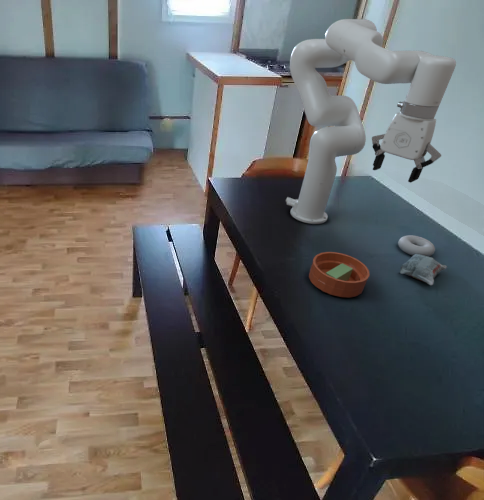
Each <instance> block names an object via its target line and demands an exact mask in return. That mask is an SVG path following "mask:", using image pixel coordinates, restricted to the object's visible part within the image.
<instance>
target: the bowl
mask: <svg viewBox="0 0 484 500" xmlns="http://www.w3.org/2000/svg"><path fill="white" fill-rule="evenodd" d="M342 263H343V264H345V265H347V266H349V267H351V268H352V269H353V270H352V273H351V275H350V278H349V279H348V280H347V281H343V280H339V279H336V278H333V277H331V276H328V275H327V274H326V272H328V271H330V270H332V269H333V268H335V267H337V266H339V265H340V264H342ZM370 277H371V274H370V269H369V268H368V267H367V265H366V264H364V263H363V262H362V261H361V260H359V259H358V258H356V257H353V256H351V255H349V254H346V253H341V252H336V251H325V252H320V253H318V254H316V255H314V257H313V259H312V261H311V265H310V268H309V271H308V279H309V281H310V282H311V284H312V285H314V286H315V287H316V288H317V289H318V290H320V291H321V292H323V293H325V294H328V295H331V296H334V297H339V298H354V297H357V296H359V295H361V294H363V291H364V290H365V288H366V286H367V283H368V280H369V278H370Z"/></svg>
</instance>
